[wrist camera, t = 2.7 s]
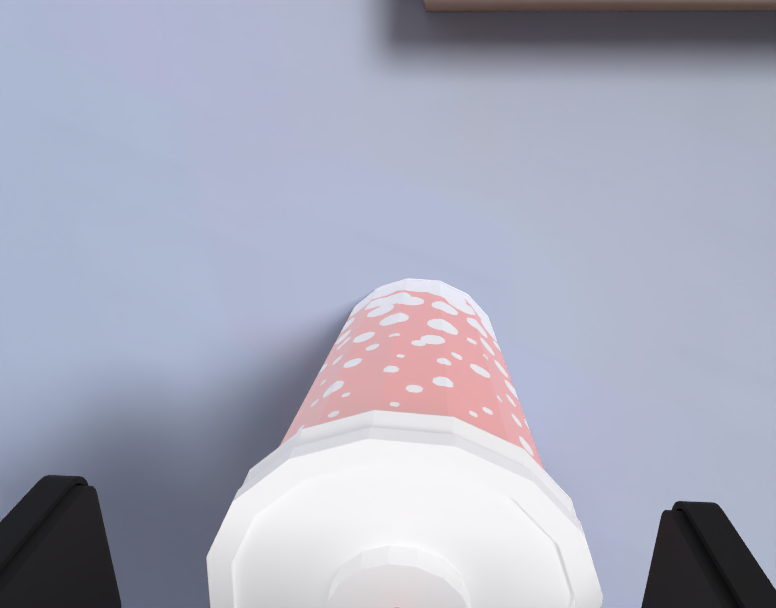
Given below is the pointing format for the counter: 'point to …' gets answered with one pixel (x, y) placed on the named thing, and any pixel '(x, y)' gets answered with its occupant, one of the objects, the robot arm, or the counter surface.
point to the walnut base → (596, 5)
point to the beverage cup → (405, 479)
